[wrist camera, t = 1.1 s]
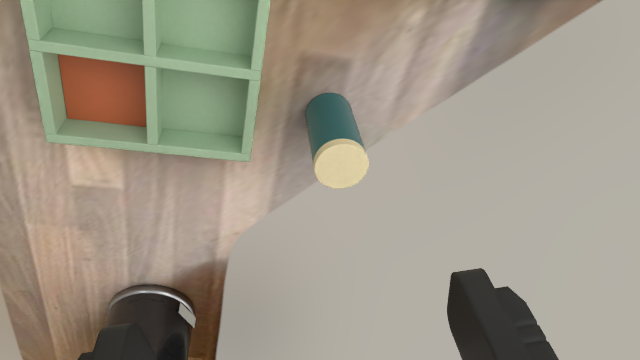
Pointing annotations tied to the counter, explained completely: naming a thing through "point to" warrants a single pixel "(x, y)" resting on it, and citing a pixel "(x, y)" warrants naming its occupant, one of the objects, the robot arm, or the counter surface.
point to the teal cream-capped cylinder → (335, 142)
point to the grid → (149, 73)
